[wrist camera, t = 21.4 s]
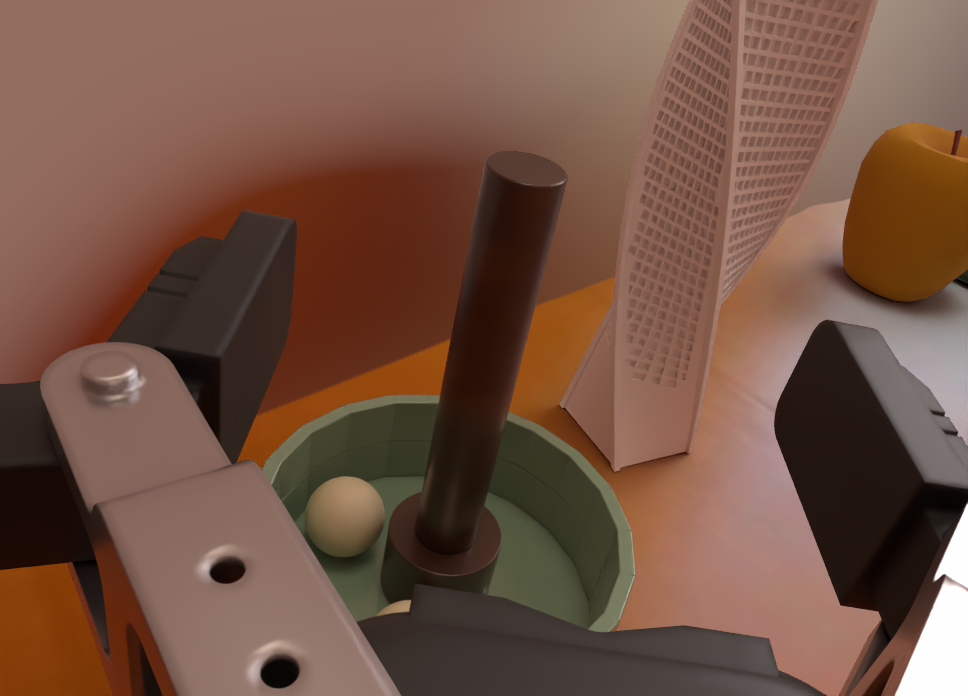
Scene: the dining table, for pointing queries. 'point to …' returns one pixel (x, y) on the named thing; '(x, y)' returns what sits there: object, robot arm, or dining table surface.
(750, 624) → the dining table surface
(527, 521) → the bowl
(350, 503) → the bead
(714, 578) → the dining table surface
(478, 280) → the pestle
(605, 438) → the skyscraper
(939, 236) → the apple
